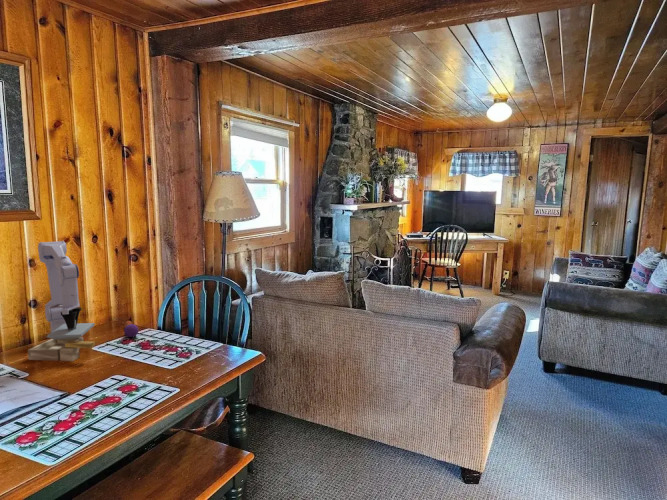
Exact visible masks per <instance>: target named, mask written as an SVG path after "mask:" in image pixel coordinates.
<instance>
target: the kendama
mask: <svg viewBox="0 0 667 500" xmlns="http://www.w3.org/2000/svg"><path fill="white" fill-rule="evenodd" d="M124 326H125V327H124V329H123V332H124V333H123V334H124V335H125V336H126V337H127V338H134V337H136V336H137V335H138V333H139V327H138V326H137V325H136V324H133V322H132V321H131V320H126V321H125V322H124Z"/></svg>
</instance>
